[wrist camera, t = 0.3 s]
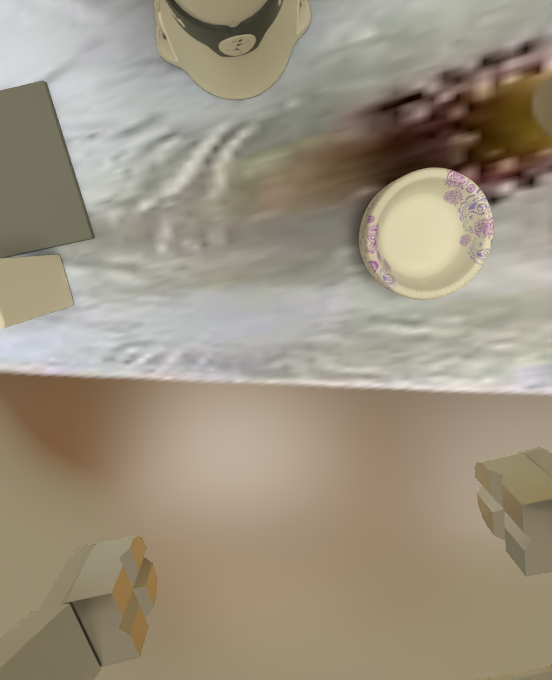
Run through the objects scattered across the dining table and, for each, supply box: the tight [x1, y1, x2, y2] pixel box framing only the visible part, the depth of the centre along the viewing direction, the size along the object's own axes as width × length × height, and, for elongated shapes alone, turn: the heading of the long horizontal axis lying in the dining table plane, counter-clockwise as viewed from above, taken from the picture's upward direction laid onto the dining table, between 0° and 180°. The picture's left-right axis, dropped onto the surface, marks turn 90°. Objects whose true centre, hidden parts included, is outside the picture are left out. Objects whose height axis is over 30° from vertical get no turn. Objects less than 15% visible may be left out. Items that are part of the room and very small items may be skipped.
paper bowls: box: [359, 168, 494, 300], centre depth 50 cm, size 15×15×8 cm
